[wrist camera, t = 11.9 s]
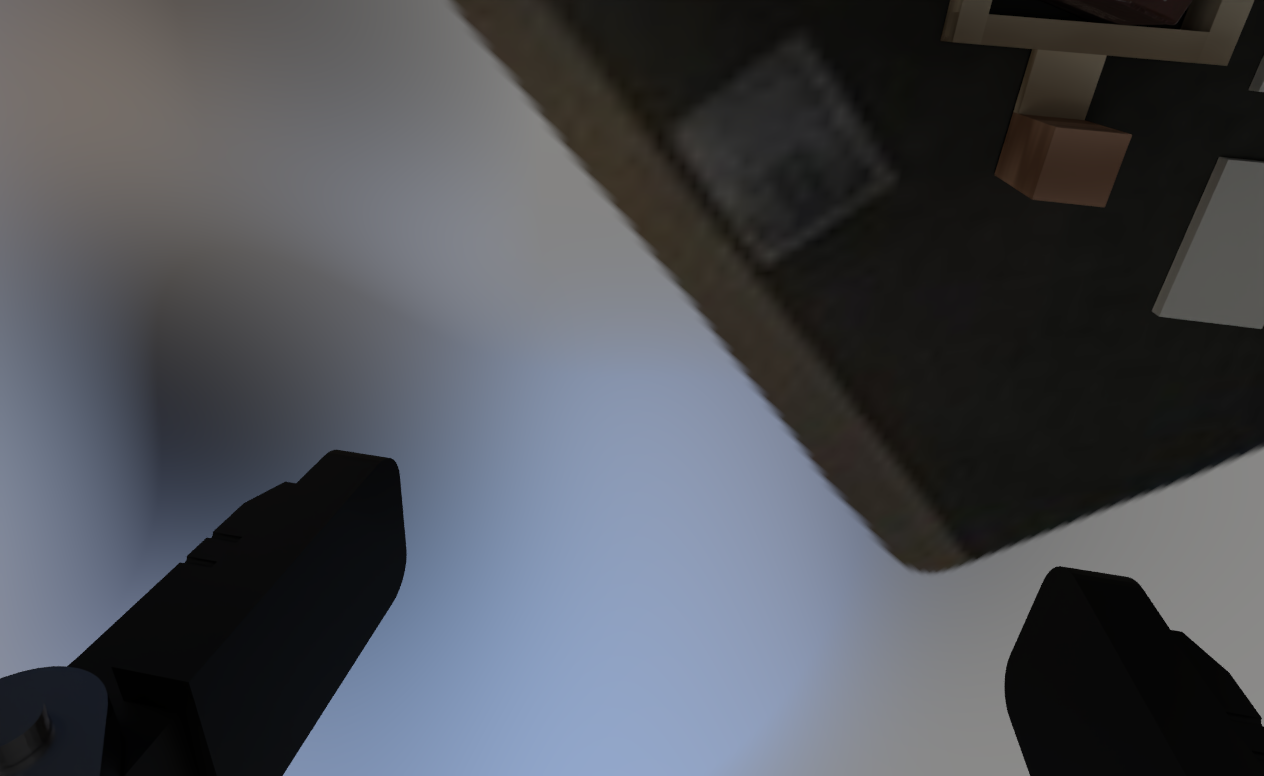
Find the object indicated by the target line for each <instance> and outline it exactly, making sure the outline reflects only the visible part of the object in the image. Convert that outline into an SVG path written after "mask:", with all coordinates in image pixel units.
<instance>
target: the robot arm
mask: <svg viewBox="0 0 1264 776" xmlns="http://www.w3.org/2000/svg"><path fill="white" fill-rule="evenodd" d="M405 565H406V540H405V529H404V518H403V506H402V495H401V484H400V474H399V469H398V466H397V464H396V462H395V461H394V460H393V459H391V458H386V457H379V456H373V455H366V454H360V453H354V452H348V451H341V450H333V451H330V452H328V453H327V454H326V455H325V456H324V457H323V458H322V459H321V460H320V461H319V462H318V463H317V464H316V465H314V467H312V468H311V469H310V470H309V471H308V472H307V473H306V474H305V475H304V476H303V477H302V478H301V479H300V480H299V481H298V482H297V483H290V482H284V483H282V484H280V485H278V486H276V487H274V488H272V489H270V490H268V491H267V492H265V493H263V494H261V495H259V496H257V497H255V498H253V499H251V500H249V501H247V502H245V503H244V504H243V505H242V506H241V507H239V508H238V509H237V510H236V511H235V512H234V513H233V514H232V515H231V516H230V517H229V518H228V519H227V520H225V521H224V522H223V523H222V524H221V525H220V526H219V527H218V528H217V529H216V530H215V531H214V532H213V536H212V538H206V539H205V540H204V541H203V542H202V543H201V544H199V545H198V546H197V547H196V548H195V549H194V550H193V551H192V552H191V553H190V554H189V555H188V556H187V560H186V562H185V563H179V564H178V565H177V566H176V567H175V568H174V569H172V570H171V571H170V572H169V573H168V574H167V575H166V576H165V577H164V578H163V579H162V580H161V581H160V582H158V583H157V584H156V585H155V586H154V587H153V588H152V589H151V590H150V591H149V592H148V593H147V594H145V595H144V596H143V597H142V598H141V599H140V600H139V601H138V602H137V603H136V604H135V605H134V606H133V607H131V608H130V609H129V610H128V611H127V612H126V613H125V614H124V615H123V616H122V617H121V618H120V619H119V620H117V622H115V623H114V624H113V625H112V626H111V627H110V628H109V629H108V630H107V631H106V632H104V633H103V634H102V635H101V636H100V637H99V638H98V639H97V640H96V641H95V642H94V643H93V644H92V645H91V646H89V647H88V648H87V649H86V650H85V651H84V652H83V653H82V654H81V655H80V656H79V657H78V658H76V659H75V660H74V661H73V662H72V663H71V664H69V665H68V666H67V667H61V666H57V667H55V666H53V667H44V668H37V669H32V670H27V671H23V672H19V673H16V674H13V675H10V676H6V677H3V678H1V679H0V776H283V774H284V773H285V771H286V769H287V768H288V766H289V765H290V763H291V762H292V760H293V758H294V757H295V755H296V754H297V752H298V751H299V749H300V747H301V746H302V744H303V743H304V741H305V740H306V738H307V737H308V735H309V733H310V731H311V730H312V729H313V727H314V726H315V724H316V722H317V721H318V719H319V718H320V716H321V715H322V713H323V711H324V710H325V708H326V707H327V705H328V703H329V702H330V700H331V699H332V697H333V696H334V694H335V693H336V691H337V689H338V688H339V686H340V685H341V683H342V681H343V680H344V678H345V677H346V675H347V674H348V672H349V670H350V669H351V667H352V666H353V664H354V663H355V661H356V659H357V658H358V656H359V655H360V653H361V652H362V650H363V649H364V647H365V645H366V644H367V642H368V641H369V639H370V638H371V636H372V634H373V633H374V631H375V630H376V628H377V627H378V625H379V623H380V622H381V620H382V619H383V617H384V616H385V614H386V613H387V611H388V609H389V608H390V606H391V605H392V603H393V601H394V600H395V598H396V596H397V594H398V591H399V589H400V586H401V583H402V580H403V576H404V571H405ZM1005 699H1006V706H1007V710H1008V714H1009V717H1010V720H1011V723H1012V726H1013V729H1014V731H1015V734H1016V737H1017V740H1018V743H1019V745H1020V748H1021V751H1022V754H1023V757H1024V760H1025V762H1026V765H1027V768H1028V771H1029V774H1030V776H1264V727H1263V726H1262V724H1261V719H1262V718H1261V716H1260V715H1259V714H1258V712H1257V711H1256V709H1255V708H1254V707H1253V705H1252V704H1251V703H1250V701H1249V700H1248V698H1247V697H1246V695H1244V693H1243V691H1242V690H1241V689H1240V687H1239V686H1238V684H1237V683H1236V682H1235V680H1234V679H1233V677H1232V676H1231V675H1230V673H1229V672H1228V671H1226V670H1225V669H1224V668H1223V667H1222V666H1221V665H1220V664H1218V663H1217V662H1216V661H1215V660H1214V659H1213V658H1212V657H1210V656H1209V655H1208V654H1207V653H1206V652H1205V651H1204V650H1202V649H1201V648H1200V647H1199V646H1198V645H1197V644H1195V643H1194V642H1193V641H1192V640H1191V639H1190V638H1188V637H1187V636H1186V635H1185V634H1184V633H1183V632H1180V631H1174V630H1170V629H1169V627H1168V626H1167V624H1166V623H1165V621H1164V620H1163V618H1162V617H1161V615H1160V614H1159V612H1158V611H1157V609H1156V608H1155V606H1154V605H1153V603H1152V602H1151V600H1150V599H1149V597H1148V596H1147V594H1146V593H1145V591H1144V590H1143V589H1142V587H1141V586H1140V585H1139V584H1138V583H1137V582H1136V581H1135V580H1133V579H1131V578H1129V577H1124V576H1117V575H1111V574H1105V573H1099V572H1092V571H1086V570H1079V569H1074V568H1067V567H1061V566H1059V567H1055V568H1053V569H1052V570H1051V571H1050V572H1049V573H1048V574H1047V575H1046V577H1045V579H1044V581H1043V583H1042V585H1041V587H1040V590H1039V592H1038V594H1037V596H1036V598H1035V601H1034V603H1033V605H1032V607H1031V610H1030V612H1029V614H1028V616H1027V619H1026V621H1025V623H1024V625H1023V628H1022V630H1021V632H1020V634H1019V637H1018V639H1017V641H1016V643H1015V646H1014V648H1013V650H1012V652H1011V655H1010V657H1009V660H1008V663H1007V667H1006V673H1005Z"/></svg>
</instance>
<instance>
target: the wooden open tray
mask: <svg viewBox="0 0 1264 776" xmlns="http://www.w3.org/2000/svg"><path fill="white" fill-rule="evenodd" d="M1253 2H1254V0H1192V2H1191V3H1190V5H1189V8H1188V10H1187V13H1186V16H1185V18H1184V21H1183V23H1182V26H1181V29H1180V30H1177V29H1165V28H1152V27H1140V26H1128V25H1115V24H1103V23H1091V22H1079V21H1066V20H1054V19H1042V18H1029V17H1017V16H1005V15H992V14H989V11H990V7H991V3H992V0H950V3H949V7H948V11H947V15H946V20H945V24H944V28H943V32H942V36H941V40H940V41H946V42H956V43H968V44H979V45H991V46H1003V47H1014V48H1026V49H1032V52H1031V55H1030V58H1029V62H1028V65H1027V68H1026V72H1025V75H1024V78H1023V82H1022V85H1021V88H1020V91H1019V95H1018V98H1017V101H1016V105H1015V108H1014V111H1013V115H1012V118H1011V121H1010V125H1009V128H1008V131H1007V135H1006V138H1005V141H1004V145H1003V148H1002V151H1001V155H1000V158H999V161H998V165H997V168H996V171H995V174H994V175H995V176H997V177H998V178H1000V179H1002V180H1003V181H1005V182H1006V183H1008V184H1009V185H1011V186H1012V187H1014V188H1015V189H1017V190H1018V191H1020V192H1021V193H1023V194H1024V195H1026V196H1027V197H1029V198H1030V199H1032V200H1041V201H1050V202H1059V203H1069V204H1078V205H1087V206H1097V207H1105V205H1106V202H1107V200H1108V197H1109V195H1110V192H1111V189H1112V187H1113V184H1114V181H1115V179H1116V176H1117V173H1118V171H1119V168H1120V165H1121V163H1122V160H1123V158H1124V155H1125V152H1126V150H1127V147H1128V144H1129V142H1130V139H1131V136H1132V134H1129V133H1125V132H1122V131H1119V130H1115V129H1112V128H1109V127H1105V126H1102V125H1099V124H1095V123H1092V122H1089V121H1086V120H1085V117H1086V114H1087V111H1088V108H1089V106H1090V103H1091V100H1092V97H1093V94H1094V91H1095V88H1096V85H1097V82H1098V80H1099V77H1100V74H1101V71H1102V68H1103V65H1104V62H1105V59H1106V56H1107V55H1108V56H1120V57H1131V58H1143V59H1155V60H1166V61H1178V62H1190V63H1201V64H1213V65H1225V66H1227V65H1228V62H1229V60H1230V57H1231V55H1232V53H1233V50H1234V48H1235V45H1236V43H1237V41H1238V38H1239V36H1240V34H1241V31H1242V29H1243V26H1244V24H1245V22H1246V19H1247V17H1248V14H1249V12H1250V10H1251V7H1252V5H1253Z"/></svg>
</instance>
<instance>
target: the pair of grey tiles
mask: <svg viewBox="0 0 1264 776" xmlns="http://www.w3.org/2000/svg"><path fill="white" fill-rule="evenodd" d="M1249 90H1251V91H1258V92H1264V55H1263V58H1262V60H1261V62H1260V64H1259V67H1258V69H1257V71H1256V74H1255V76H1254V78H1253V80H1252V83H1251V85H1250V87H1249ZM1152 312H1154V313H1155V314H1156V315H1158V316H1159V317H1167V318H1176V319H1184V320H1192V321H1200V322H1208V323H1217V324H1225V325H1233V326H1241V327H1250V328H1258V329H1262V327H1263V325H1264V161H1257V160H1247V159H1237V158H1227V157H1219V158H1218V160H1217V163H1216V165H1215V167H1214V170H1213V172H1212V174H1211V177H1210V179H1209V181H1208V183H1207V186H1206V188H1205V190H1204V193H1203V195H1202V197H1201V199H1200V202H1199V204H1198V206H1197V209H1196V211H1195V213H1194V215H1193V218H1192V220H1191V222H1190V225H1189V227H1188V229H1187V231H1186V234H1185V236H1184V238H1183V241H1182V243H1181V245H1180V247H1179V250H1178V252H1177V254H1176V257H1175V259H1174V261H1173V263H1172V266H1171V268H1170V270H1169V273H1168V275H1167V277H1166V279H1165V282H1164V284H1163V286H1162V289H1161V291H1160V293H1159V295H1158V298H1157V300H1156V302H1155V305H1154V307H1153V309H1152Z"/></svg>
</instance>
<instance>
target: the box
mask: <svg viewBox="0 0 1264 776" xmlns="http://www.w3.org/2000/svg"><path fill="white" fill-rule="evenodd" d="M1041 1H1043V2H1046V3H1048V4H1051V5H1053V6H1055V7H1057V8H1060V9H1062V10H1065V11H1067V12H1069V13H1072V14H1074V15H1076V16H1078V17H1080V18H1083V19H1086V20H1088V21H1090V22H1092V23H1103V24H1115V25H1164V24H1166V25H1175V24H1176V23H1178V21H1179V20H1180V18H1181V16H1182V15H1183V13H1184V12H1185V10H1186V9H1187V8H1188V6H1189V5H1190V3H1191V2H1192V0H1041Z"/></svg>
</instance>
